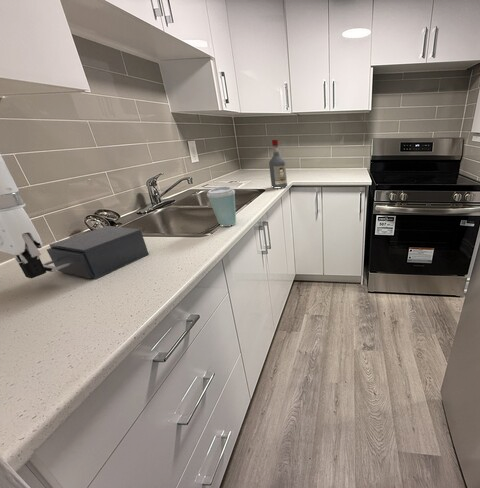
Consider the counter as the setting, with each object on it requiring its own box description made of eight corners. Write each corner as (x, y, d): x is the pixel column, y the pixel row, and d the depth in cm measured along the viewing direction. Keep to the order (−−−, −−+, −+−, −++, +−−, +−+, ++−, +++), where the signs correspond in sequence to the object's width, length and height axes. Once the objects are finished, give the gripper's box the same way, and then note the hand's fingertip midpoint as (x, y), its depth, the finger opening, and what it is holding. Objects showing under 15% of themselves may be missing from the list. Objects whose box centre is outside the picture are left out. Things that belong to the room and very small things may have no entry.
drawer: (67, 287, 65) (55, 263, 62) (35, 280, 69) (22, 257, 67) (140, 254, 82) (133, 234, 79) (110, 250, 86) (102, 230, 83)
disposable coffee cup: (234, 229, 104) (227, 191, 98) (208, 229, 105) (200, 191, 99) (244, 220, 113) (238, 185, 107) (220, 220, 114) (213, 186, 108)
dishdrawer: (97, 278, 71) (84, 250, 67) (62, 271, 75) (48, 244, 72) (149, 254, 84) (140, 229, 81) (117, 249, 89) (107, 225, 85)
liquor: (270, 187, 179) (264, 140, 167) (281, 185, 184) (277, 139, 172) (277, 189, 172) (272, 140, 160) (288, 187, 178) (284, 139, 166)
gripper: (-45, 204, 56) (-1, 277, 64) (-9, 209, 51) (34, 288, 59) (3, 196, 63) (38, 264, 70) (40, 200, 58) (73, 272, 65)
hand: (36, 275), depth 64 cm, fingers closed
